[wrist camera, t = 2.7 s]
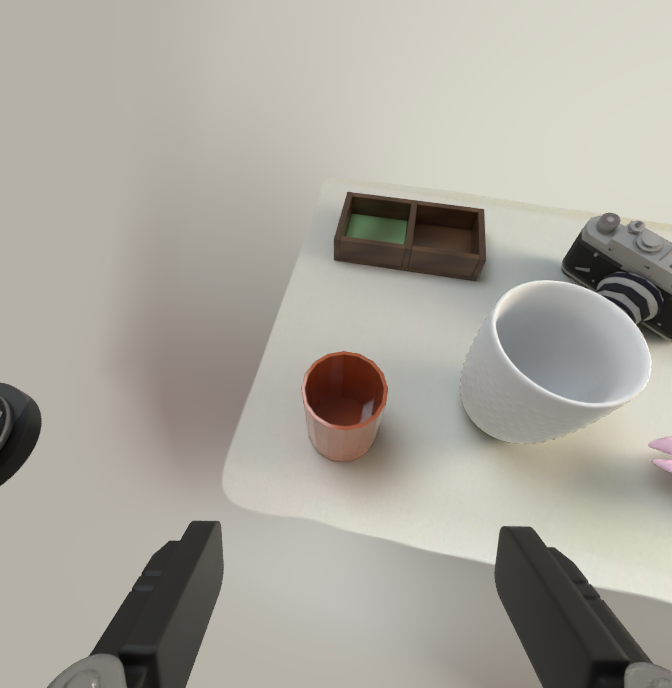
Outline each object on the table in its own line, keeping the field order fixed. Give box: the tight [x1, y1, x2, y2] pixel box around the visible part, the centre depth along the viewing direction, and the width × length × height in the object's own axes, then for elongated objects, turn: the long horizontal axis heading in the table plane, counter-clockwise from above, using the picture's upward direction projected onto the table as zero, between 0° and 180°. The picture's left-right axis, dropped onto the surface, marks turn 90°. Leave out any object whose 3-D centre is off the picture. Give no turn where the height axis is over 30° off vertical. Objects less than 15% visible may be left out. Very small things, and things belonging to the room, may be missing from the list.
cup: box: [301, 351, 388, 462], centre depth 32 cm, size 7×7×9 cm
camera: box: [562, 213, 672, 341], centre depth 40 cm, size 16×9×10 cm, turn 38°
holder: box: [334, 192, 486, 281], centre depth 48 cm, size 18×10×4 cm, turn 79°
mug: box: [460, 280, 651, 444], centre depth 32 cm, size 15×11×13 cm
